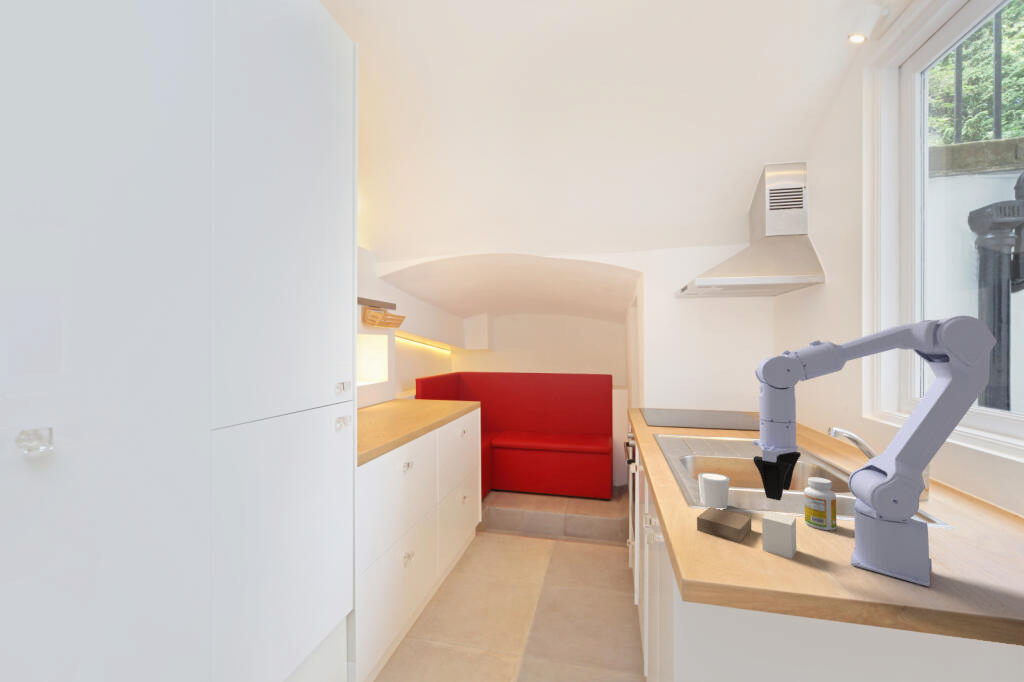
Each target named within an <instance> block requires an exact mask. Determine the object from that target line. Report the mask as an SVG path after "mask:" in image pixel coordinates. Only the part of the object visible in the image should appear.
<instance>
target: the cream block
mask: <svg viewBox="0 0 1024 682" xmlns="http://www.w3.org/2000/svg"><path fill="white" fill-rule="evenodd" d="M796 523H797V518H796V517H794V516H790V515H787V514H782V513H777V512H773V511H769V510H767V511H766V512H765V514H764V515H763V516H762V518H761V524H762V525H761V529H762V537H761V539H762V543H761V544H762V551H764V552H767V553H769V554H773V555H777V556H781V557H783V558H787V559H789V560H793V557H794V555H795V553H796V551H797V524H796Z"/></svg>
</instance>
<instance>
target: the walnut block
mask: <svg viewBox="0 0 1024 682" xmlns="http://www.w3.org/2000/svg"><path fill="white" fill-rule="evenodd" d="M696 530H697V531H698V530H699V532H702V533H706V534H708V533H709V534H708V535H712V536H716V537H717V538H718V537H719V538H722V539H725V540H729V541H732V542H735V543H739V544H741V543H742V542H743V541H744V540H745V538H747V536H748V535H749V533H750V532H751V531H752V517H750V516H748V515H747V516H746V515H742V514H740V513H739V514H738V513H735V512H731V511H727V510H720V509H716V508H712V507H710V508H706V510H705V511H703V512H702V513H700V514H699V515H698V516H696Z"/></svg>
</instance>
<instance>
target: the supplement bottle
mask: <svg viewBox="0 0 1024 682" xmlns="http://www.w3.org/2000/svg"><path fill="white" fill-rule="evenodd" d="M807 484H808V486H807V487H805V488H804V490H803V492H804V493H803V494H804V495H803V496H804V500H803V501H804V522H805V524H806V525H807V526H809V527H812V528H814V529H818V530H821V531H828V530H830V531H835V530H836V529H837V527H838V526H837V496H836V495H837V494H836V493H835V492H834V491H832V490H831V489H832V481H831V480H830V479H827V478H823V477H818V476H817V477H816V476H815V477H814V476H813V477H812V476H811V477H810V476H809V477H807Z"/></svg>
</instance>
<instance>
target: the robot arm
mask: <svg viewBox="0 0 1024 682" xmlns="http://www.w3.org/2000/svg"><path fill="white" fill-rule="evenodd" d="M997 342H998V341H997V340H996V338H995V336H994V335H993V334H992V332H991V330H990V329H989V327H988V325H987V324H985V322H983V321H982V320H981V319H978V318H977V317H974V316H971V315H970V316H969V315H956V316H952V317H949V318H948V317H947V318H941V319H933V320H932V319H927V320H922V321H918V322H915V323H914V322H913V323H906V324H901V325H894V326H891V327H888V328H885V329H883V330H880V331H875V332H873V333H870V334H868V335H864V336H861V337H858V338H855V339H852V340H849V341H845V342H842V343H840V344H836V343H833V342H831V341H827V340H824V341H820V340H819V339H817V340H813V341H809V343H808V344H809V345H808V346H805V347H802V348H798V349H796V350H792V351H789V350H784V351H781V355H777V356H771V357H766V358H764V359H762V360H761V362H759V363H758V365H757V367H756V370H755V371H754V373H755V376H756V378H757V380H758V381H759V394H758V395H759V396H758V400H759V402H758V407H759V412H758V413H759V439H757V440H755V439H754V440H752V445H753V446H757V447H759V448H760V450H761V452H762V453H761V456H759V455H755V456H753V458H752V459H753V464H754V465H755V466H756V468H757V470H758V472H759V475H760V479H761V481H762V485H763V491H764V494H765V497H766V498H767V499H771V500H774V501H781V500H782V498H783V492H784V491H789V490H790V488H791V484H792V479H793V475H794V470H795V468H796V465H797V462H798V460H799V459H800V457H801V456H802V455H801V452H799V451H798V450H799V449H798V445H797V420H796V419H797V418H796V417H797V414H796V413H797V412H796V409H797V408H796V407H797V406H796V403H797V402H796V399H797V398H796V387H795V386H796V385H797V384H798V383H799V382H800V381H801V382H805V381H808V380H812V379H815V378H819V377H822V376H825V375H829V374H832V373H836V372H841V371H842V370H843V368H844V367H845V365H846V363H847V362H849V361H853V360H855V359H856V360H857V359H860V358H864V357H868V356H871V355H877V354H879V353H883V352H884V353H885V352H887V351H892V350H896V349H901V350H912V351H913V352H914V353H916V355H918V357H920V358H921V359H922V360H924V361H925V363H927V364H928V365H929V368H930V369H931V371H932V373H933V374H934V376H935V379H934V381H933V382H932V384H931V385H930V387H929V388H928V389H927V391H926V392H925V394H924V395H923V397H922V398H921V399H920V400H919V402H918V404H917V405H916V406H915V407H914V409H913V410H912V412H911V413H910V414H909V416H908V417H907V419H906V420H905V421H904V422H903V424H902V426H900V428H899V430H898V431H897V433H896V434H895V435H894V436H893V438H892V439H891V441H890V442H889V443H888V445H887V446H886V448H885V450H883V452H882V453H881V454H878V455H876V456H874V457H872V458H870V459H869V460H867V462H866V463H865V465H863V466H862V467H860V468H858V469H856V470H854V471H852V472H851V474H850V475H849V476H848V479H847V486H848V489H849V492H851V494H852V495H853V496H854V497H855V503H854V505H853V509H854V510H853V511H854V547H853V551H852V554H851V555H852V556H851V558H850V565H852V566H854V567H858V568H861V569H863V570H869V571H873V572H876V573H879V574H881V575H886V576H889V577H893V578H897V579H900V580H904V581H906V582H907V581H908V582H910V583H914V584H918V585H922V586H925V587H930V585H931V582H930V571H932V570H933V569H932V568H933V566H932V563H933V562H932V558H930V551H929V550H930V547H929V544H930V543H929V542H930V541H929V529H928V527H929V526H928V523H927V522H924V521H921V520H917V519H914V518H912V517H914V516H915V515H916V514H917V512H918V511H919V508H920V498H921V495H922V493H923V492H924V491H925V488H926V486H925V481H924V477H923V472H924V471H925V469H926V468H927V467H928V465H929V464H930V463H931V461H932V460H933V458H935V456H936V455H937V454H938V452H939V450H940V449H941V448H942V447H943V445H944V444H945V442H946V441H947V439H948V438H949V437H950V436H951V435H952V433H953V431H954V430H955V429H956V427H957V426H958V424H959V423H960V422H961V421H962V420H963V418H964V417H965V415H966V414H967V413H968V411H969V410H970V408H971V407H972V406H973V405H974V403H975V402H976V400H977V399H978V398H979V396H980V395H981V394H982V393H983V391H984V390H985V389H986V387H987V386H988V383H989V382H990V368H991V367H990V366H991V365H990V364H991V351H992V350H993V348H994V346H996V344H997Z"/></svg>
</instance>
